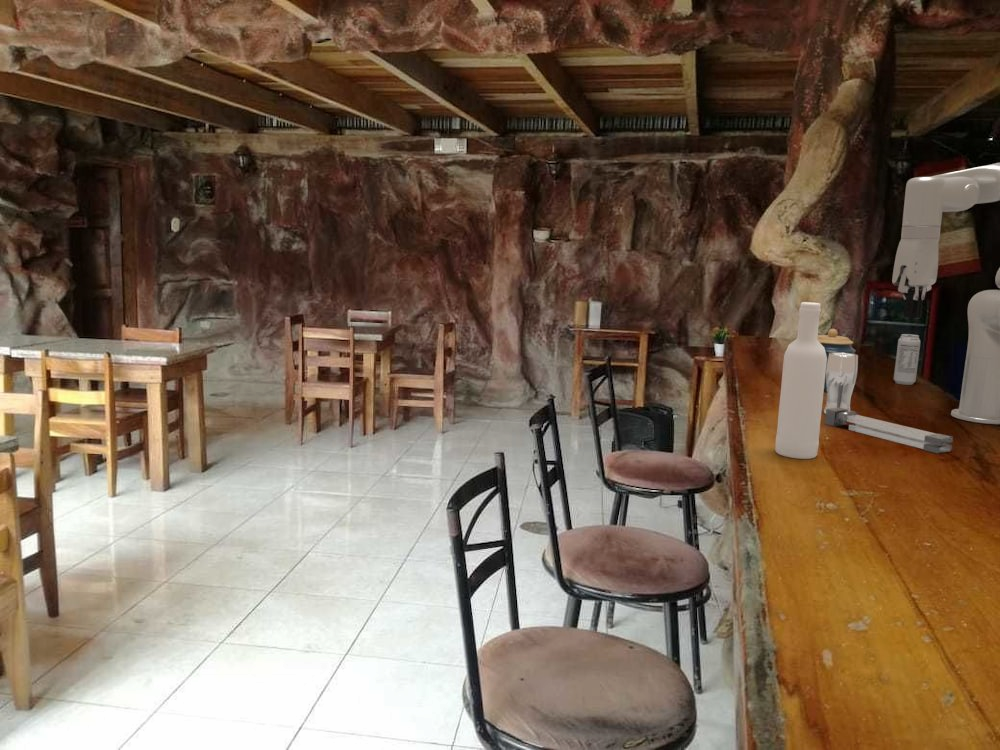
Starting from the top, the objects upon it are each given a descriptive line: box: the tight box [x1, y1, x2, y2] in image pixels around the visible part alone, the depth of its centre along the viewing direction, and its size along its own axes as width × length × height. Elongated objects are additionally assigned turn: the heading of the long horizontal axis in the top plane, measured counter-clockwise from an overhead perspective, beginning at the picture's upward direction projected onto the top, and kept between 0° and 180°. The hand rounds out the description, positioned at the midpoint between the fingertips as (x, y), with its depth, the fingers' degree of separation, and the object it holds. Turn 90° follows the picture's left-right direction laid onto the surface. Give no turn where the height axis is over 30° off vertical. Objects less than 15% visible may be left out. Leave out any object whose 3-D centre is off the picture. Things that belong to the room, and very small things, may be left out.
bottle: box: [775, 301, 827, 460], centre depth 150 cm, size 8×8×30 cm
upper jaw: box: [836, 410, 954, 445], centre depth 166 cm, size 24×5×2 cm, turn 29°
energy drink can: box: [893, 333, 921, 386], centre depth 235 cm, size 6×6×15 cm
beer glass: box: [823, 352, 859, 415], centre depth 188 cm, size 7×7×15 cm
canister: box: [817, 328, 857, 393], centre depth 222 cm, size 13×13×18 cm
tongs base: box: [824, 407, 953, 454], centre depth 168 cm, size 27×5×4 cm, turn 29°
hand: (912, 317), depth 172 cm, fingers closed
